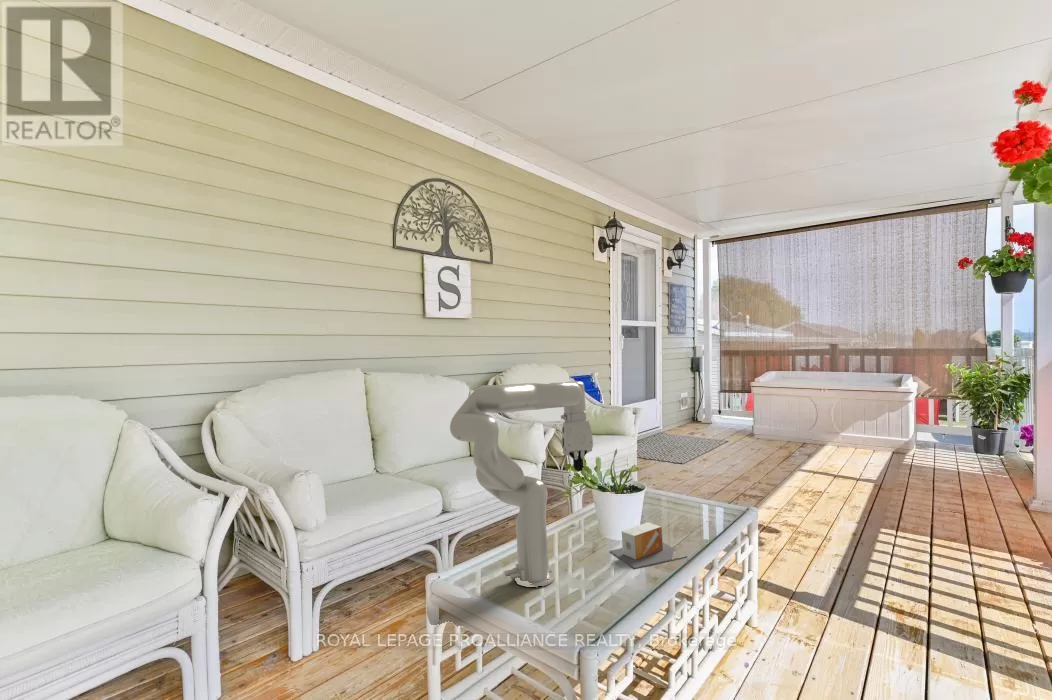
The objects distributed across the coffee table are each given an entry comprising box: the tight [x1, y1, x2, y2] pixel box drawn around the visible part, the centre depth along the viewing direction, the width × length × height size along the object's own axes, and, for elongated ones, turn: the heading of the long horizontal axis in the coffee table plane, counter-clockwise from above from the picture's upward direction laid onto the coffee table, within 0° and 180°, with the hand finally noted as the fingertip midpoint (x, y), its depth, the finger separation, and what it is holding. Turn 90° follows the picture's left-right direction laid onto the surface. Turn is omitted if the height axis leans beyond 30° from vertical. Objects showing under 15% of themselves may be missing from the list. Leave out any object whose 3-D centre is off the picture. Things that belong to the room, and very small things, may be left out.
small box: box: [621, 521, 663, 559], centre depth 173 cm, size 8×6×13 cm
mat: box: [609, 541, 675, 570], centre depth 172 cm, size 20×16×1 cm
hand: (578, 470), depth 176 cm, fingers closed
